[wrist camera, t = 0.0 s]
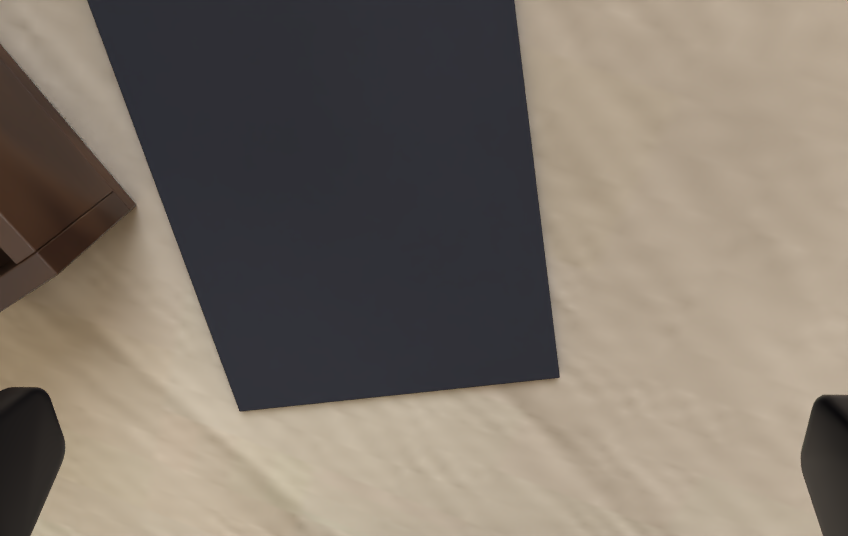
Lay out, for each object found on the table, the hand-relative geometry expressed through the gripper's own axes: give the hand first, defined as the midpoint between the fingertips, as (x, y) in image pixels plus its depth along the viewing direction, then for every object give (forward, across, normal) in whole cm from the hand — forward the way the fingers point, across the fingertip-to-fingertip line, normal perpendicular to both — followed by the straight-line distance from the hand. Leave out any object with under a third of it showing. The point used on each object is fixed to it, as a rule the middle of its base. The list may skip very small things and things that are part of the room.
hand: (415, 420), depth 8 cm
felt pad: (+15, +4, +1) cm, 15 cm away
